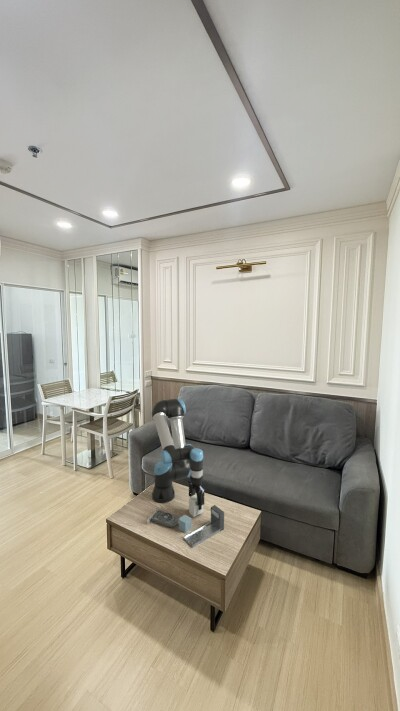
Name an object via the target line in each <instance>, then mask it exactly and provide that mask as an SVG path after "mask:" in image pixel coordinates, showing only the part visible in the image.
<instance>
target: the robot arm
mask: <svg viewBox="0 0 400 711" xmlns="http://www.w3.org/2000/svg"><path fill="white" fill-rule="evenodd" d="M186 413H187V408H186V404H185V402H184V401H183V399H182V398H172V399H162V400H159V401H157V402H156V403H155V404H154V406H153V408H152V410H151V419H152V421H153V422H154V424H155V428H156V432H157V434H158V437H159V441H160V444H161V448H162V451H160V452H161V453H160V461H158V462H157V463H156V464H154V467H153V468H154V470H153V473H154V474H153V476H154V481H153V482H154V487H153V491H152V493H151V499H152V501H153V502H155V503H158V504H166V503H170V502H172V500H174V499H175V497H176V494H175V493H176V492H175V490H174V486H173V482H175V481H178V480H182V479H187V478H189V480H188V497H191V496H193V495H195V494H197V501H198V504H197V516H199V515H201V514H202V513H201V509H202V505H203V506H204V505H205V491H206V489H205V488H203V486H202V483H203V478H204V451H203V450H202V449H200V448H195V446H194V445H193V444H190V443H186V438H185V431H184V430H185V428H184V423H183V418H184V417H185V414H186ZM166 418H167V419H166ZM167 420H169V422H170V428H171V431H170V428H169V425H168V422H167Z"/></svg>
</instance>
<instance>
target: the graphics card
mask: <svg viewBox="0 0 400 711" xmlns="http://www.w3.org/2000/svg"><path fill="white" fill-rule="evenodd" d="M180 518H181V517H180V516H179V515H176V514H173V513H171V512H168V511H164V510H162V509H159V508H158V507H156V510H154V512H153V513H152V514H151V515H150V516H149V517H148V518H147V520H146V521H147V523H146V525H149V523H153V524H159V525H161V526H162V525H163V526H166V527H168V528H169V527H170V528H174V527H175V525H176V524H178V523H179V519H180Z"/></svg>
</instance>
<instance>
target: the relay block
mask: <svg viewBox="0 0 400 711" xmlns="http://www.w3.org/2000/svg"><path fill="white" fill-rule="evenodd" d="M191 529H192V518H191V517H190V516H188V515H186V514H184V515H182V516H181V517H180V519H178V530H180V531H181V532H182V533H184V534H187V533H188V532H189V531H190V530H191Z"/></svg>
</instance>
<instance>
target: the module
mask: <svg viewBox="0 0 400 711" xmlns="http://www.w3.org/2000/svg"><path fill="white" fill-rule="evenodd" d="M188 497H189V499H188V513H189V514H190V515H191V516H192V517H194V518H196V517H197V516H198V515H197V504H198V501H197V494H196V493H195V495H193V496H191V497H190V496H188ZM203 513H204V505H202V509H201V514H203Z"/></svg>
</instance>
